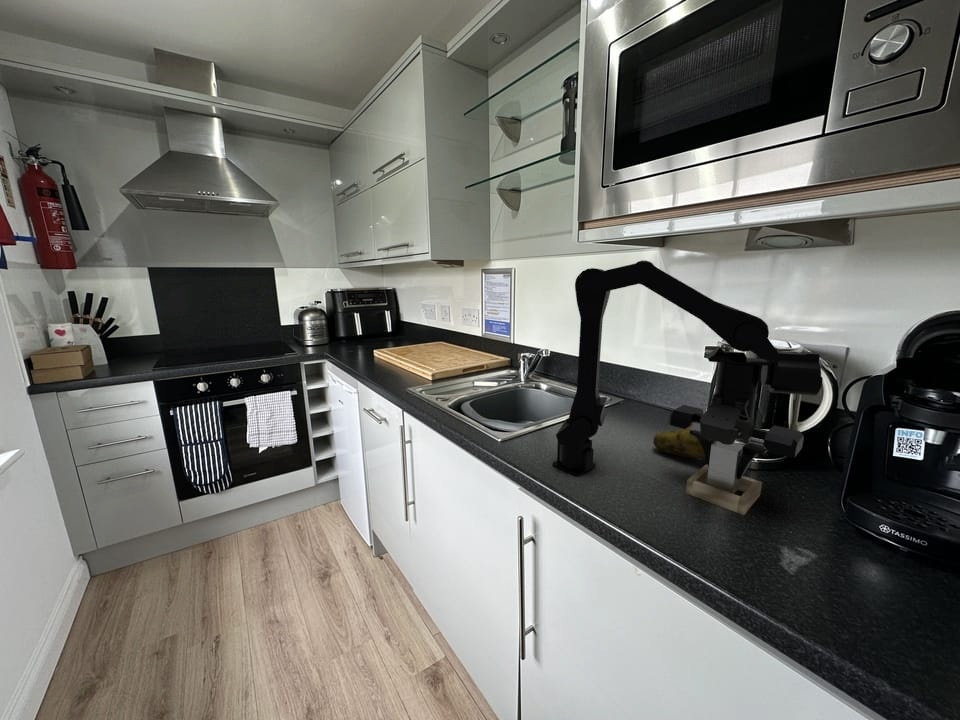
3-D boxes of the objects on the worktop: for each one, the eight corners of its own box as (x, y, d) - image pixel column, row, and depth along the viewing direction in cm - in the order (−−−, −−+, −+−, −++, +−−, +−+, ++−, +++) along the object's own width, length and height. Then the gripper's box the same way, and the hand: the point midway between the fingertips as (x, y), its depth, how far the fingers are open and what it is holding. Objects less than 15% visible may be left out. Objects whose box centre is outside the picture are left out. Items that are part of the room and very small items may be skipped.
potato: (673, 443, 90) (676, 410, 88) (728, 466, 79) (733, 429, 77) (647, 450, 86) (650, 416, 85) (701, 475, 75) (706, 437, 73)
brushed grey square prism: (706, 486, 69) (711, 444, 67) (714, 478, 71) (719, 438, 69) (731, 495, 66) (737, 452, 64) (739, 487, 68) (745, 445, 66)
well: (685, 493, 69) (687, 480, 69) (705, 476, 75) (706, 464, 74) (744, 515, 62) (745, 501, 62) (760, 494, 68) (762, 482, 68)
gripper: (658, 386, 66) (651, 469, 70) (794, 413, 53) (777, 515, 56) (685, 375, 73) (677, 451, 77) (811, 397, 60) (795, 488, 63)
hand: (724, 473), depth 68 cm, fingers closed on brushed grey square prism, 4 cm apart
